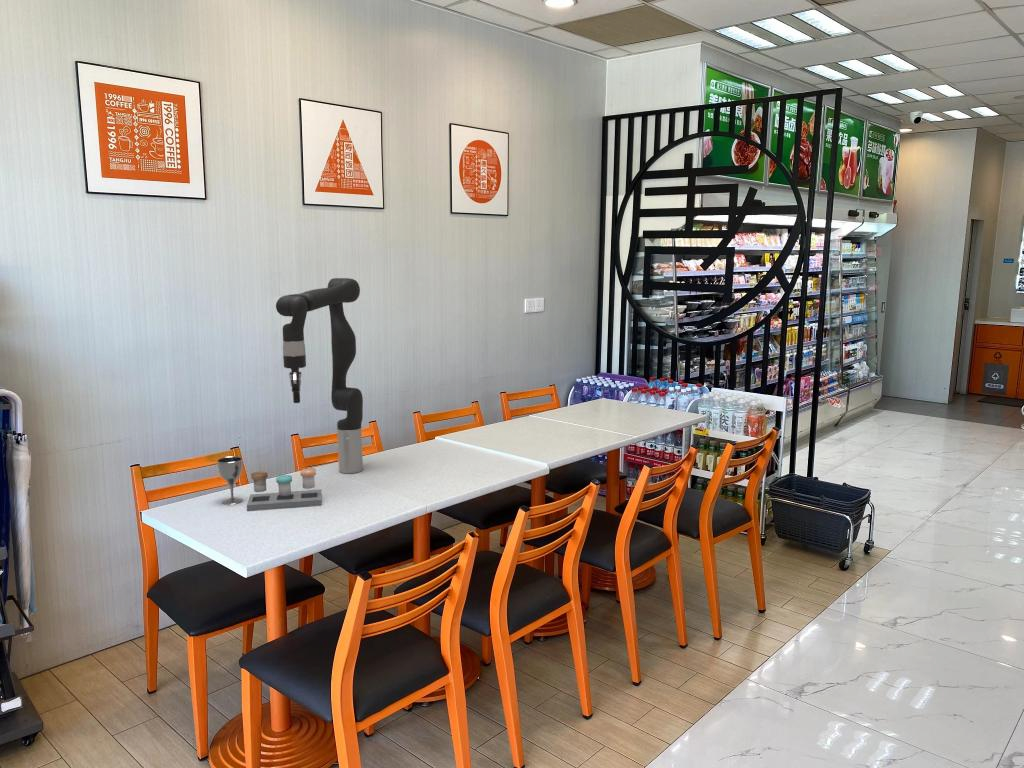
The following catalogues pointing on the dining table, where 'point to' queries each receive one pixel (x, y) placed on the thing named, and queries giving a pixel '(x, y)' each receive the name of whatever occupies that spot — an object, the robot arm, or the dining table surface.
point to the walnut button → (259, 481)
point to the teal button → (284, 484)
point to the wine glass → (230, 475)
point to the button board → (284, 500)
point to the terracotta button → (308, 477)
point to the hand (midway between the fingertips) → (296, 402)
